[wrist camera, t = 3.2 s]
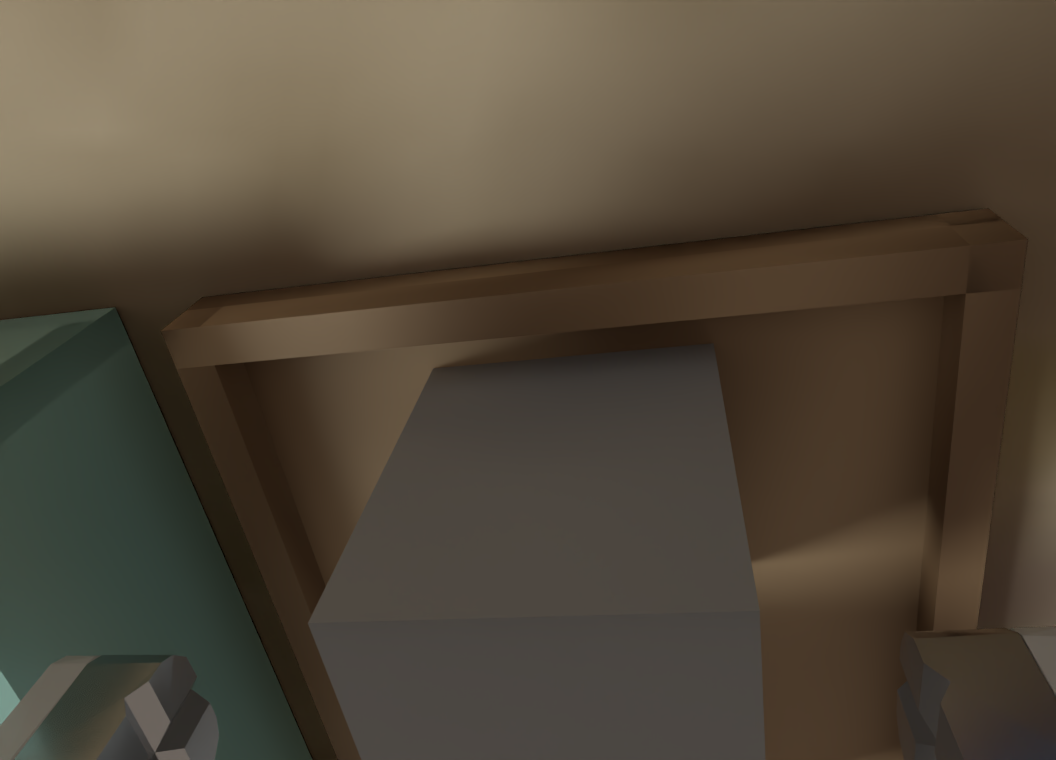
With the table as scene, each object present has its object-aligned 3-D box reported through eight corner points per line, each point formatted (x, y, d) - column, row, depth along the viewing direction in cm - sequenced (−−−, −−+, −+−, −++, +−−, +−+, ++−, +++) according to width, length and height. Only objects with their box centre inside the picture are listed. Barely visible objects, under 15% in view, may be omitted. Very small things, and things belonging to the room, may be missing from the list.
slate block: (713, 343, 11) (759, 611, 7) (726, 567, 13) (770, 892, 8) (432, 368, 12) (308, 622, 7) (484, 577, 13) (408, 879, 9)
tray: (988, 207, 10) (1028, 239, 9) (925, 806, 16) (945, 868, 15) (201, 297, 12) (160, 331, 11) (391, 797, 18) (376, 851, 17)
